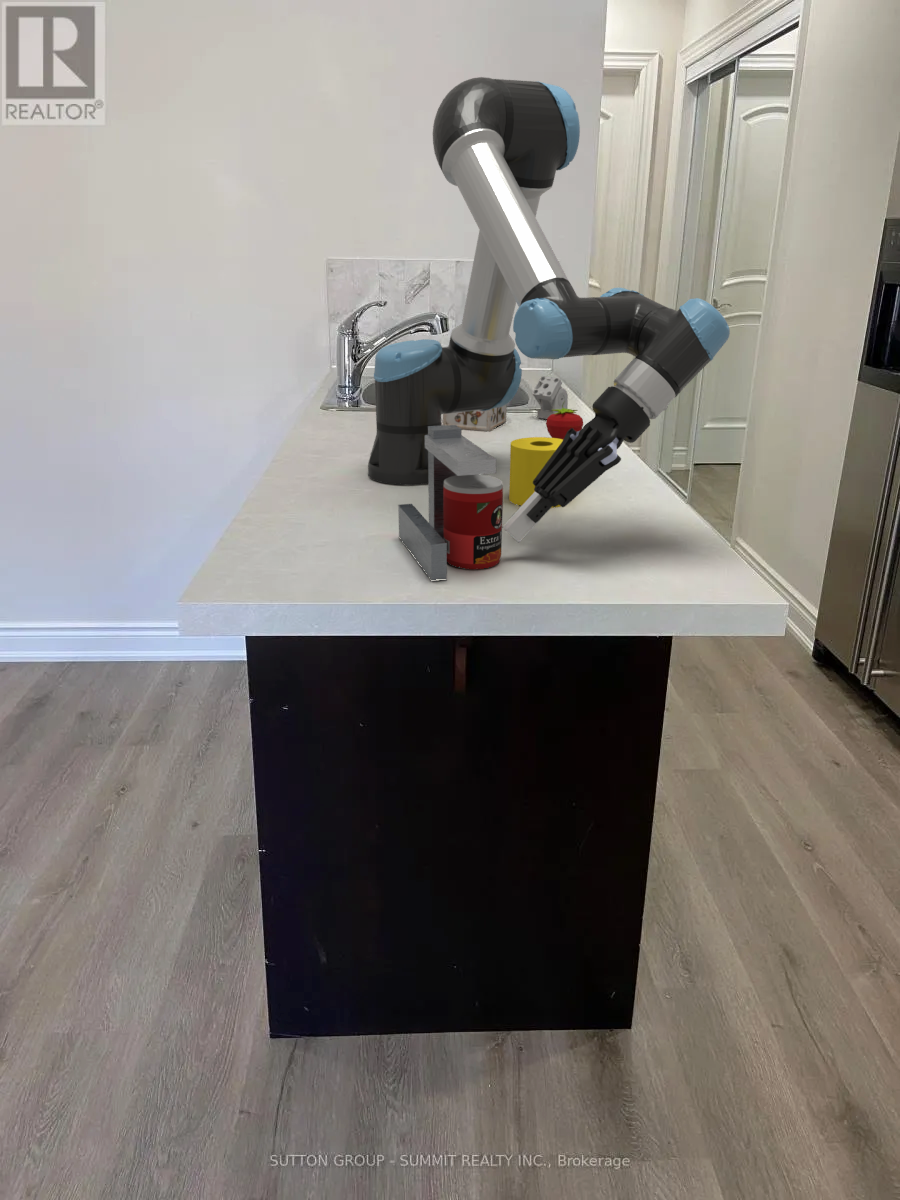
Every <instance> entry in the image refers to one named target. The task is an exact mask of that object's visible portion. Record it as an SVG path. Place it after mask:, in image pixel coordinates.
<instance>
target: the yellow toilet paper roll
mask: <svg viewBox="0 0 900 1200" xmlns="http://www.w3.org/2000/svg"><path fill="white" fill-rule="evenodd" d="M562 441H563V439H558V438H552V437H547V436H546V437H545V436H544V437H543V436H534V437H530V436H529V437H522V438H517V439H513V440H511V442H510V455H509V456H510V457H509V458H510V459H509V487H508V488H509V490H508V491H509V492H508V493H509V494H508V495H509V497H508V498H509V499H508V501H509V502H510V501H511V502H512V504H513V503H514V504H513V505H516V504H517V505H516V506H519V505H521V506H522V505H523V504H524V503H525V502H526V501H527V500H528V498H529V497H530V496H531V495H532V494H533V493H534V492H535V491H534V488H535V485H534V484H533V480H534V479H535V478H536V476H537V475H538V474H539V472H540V471H541V470H542V468H543V467H544V466H545V464H546V463H547V462H548V460H549V459H550V457H551V456H552V455H553V453H554V452H555V451H556V449H557V448H558V447H559V445H560V444H561V443H562ZM511 502H510V503H511ZM521 506H520V507H521ZM553 508H554V507H553V506H552V507H551V508H550V509H553ZM555 508H561V506H560V505H557V506H556V507H555ZM555 508H554V509H555Z"/></svg>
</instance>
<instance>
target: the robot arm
mask: <svg viewBox="0 0 900 1200" xmlns="http://www.w3.org/2000/svg"><path fill="white" fill-rule="evenodd" d="M576 107H577V106H576V103H575V101H574V99H573V97H572V96H571V95H570V94H569V92H568V91H567V90H566V89H565V88H562V87H561V86H559V85H555V84H550V83H546V82H541V81H534V80H533V81H531V80H518V79H517V80H516V79H503V78H502V79H501V78H500V79H499V78H491V77H485V76H483V77H482V76H480V77H478V76H477V77H473V78H469V79H466V80H464V81H462V82H460V83H458V84H457V85H456V86H454V87H453V88H452V89H450V90H449V92H448V93H447V94H446V95H445V97H443V98H442V101H441V103H440V105H439V106H438V109H437V110H436V114H435V117H434V121H433V126H432V127H433V128H432V145H433V150H434V151H433V152H434V155H435V156H434V157H435V159H436V161H437V164H438V167H439V168H440V170H441V173H442V175H443V176H444V178H445V180H446V181H447V182H448V183H449V184H451V185H453V186H455V187H457V188H458V190H459V192H460V194H461V196H462V198H463V199H464V201H465V203H466V206H467V208H468V209H469V211H470V214H471V216H472V217H473V219H474V221H475V223H476V226H477V227H478V229H479V230H478V236H477V241H476V247H475V251H474V255H473V256H474V257H473V262H472V266H471V267H472V268H471V272H470V277H469V284H468V288H467V292H466V293H467V294H466V299H465V305H464V308H463V309H464V310H463V313H462V319H461V324H459V325H457V326H456V327H454V328H453V329H452V330H451V333H450V338H449V343H448V346H444V347H442V345H441V343H440V341H439V340H436V339H416V340H414V339H412V340H405V341H401V342H396V343H391V344H388V345H386V346H383V347H381V348H380V349H379V350H378V351H377V353H376V354H375V356H374V357H375V358H374V371H373V372H374V373H373V379H374V394H375V418H376V421H375V422H376V423H375V424H376V432H375V433H376V435H375V439H374V442H373V445H372V448H371V452H370V455H369V459H368V462H367V463H368V464H367V473H368V474H367V475H368V477H369V479H371V480H373V481H375V482H378V483H383V484H389V485H398V486H400V485H402V486H407V485H408V486H412V485H416V486H417V485H427V484H428V485H429V481H428V450H427V449H426V448H425V435H428V426H442V415H443V414H449V413H457V412H467V411H476V410H480V411H487V410H490V409H493V408H498V407H502V406H504V405H506V404H507V405H508V404H509V403H510V402H511V401H512V400H513V399H514V397H515V396H516V394H517V393H518V390H519V388H520V385H521V381H522V375H523V374H522V373H523V369H522V368H521V365H522V360H521V357H520V355H519V352H521V353H522V355H524V356H525V357H527V358H528V359H529V358H530V359H538V360H540V359H541V360H543V359H544V360H558V359H562V358H571V357H573V358H574V357H582V356H584V357H585V356H597V355H598V356H600V355H601V356H602V355H612V354H622V353H623V354H630V355H631V356H633V357H634V358H632V360H631V361H629V363H628V364H627V365H626V367H625V368H624V369H623V370H622V371H620V373H619V374H618V375H617V377H615V378H614V380H613V385H612V386H608V387H606V389H604V391H603V392H602V393H601V395H599V396H598V398H596V400H595V401H594V402H593V404H592V411H593V413H594V415H595V416H594V417H593V418H592V419H591V420H589V421H588V422H587V423H586V424H584V425H583V427H582V429H581V430H580V431H577V432H576V431H575V430H574V429H573V428H571V429H569V430H568V431H567V433H566V435H565V437H564V439H563V441H562V443H561V444H560V445H559V447H558V448H557V449H556V451H555V452H554V453H553V455H552V456H551V457H550V459H549V460H548V462H547V463H546V464H545V466H544V467H543V468H542V470H541V471H540V472H539V474H538V475H537V476H536V478H535V479H534V480H533V484H534V485H535V488H534V491H535V492H534V493H533V494H532V495H531V496H530V497H529V498H528V500H527V501H526V502H525V503H524V504H523V505H522V506H519V508H518V509H517V510H516V511H515V512H514V514H513V515H511V517H510V518H509V519H508V520H507V521H505V522H506V523H504V524H503V525H502V530H504V531H506V533H507V534H508V535H510V537H512V538H513V539H514V541H516V542H517V543H520V542H521V541H522V540H523V539H524V538H525V536H526V535H527V534H528V533H529V532H530V531H532V529H533V528H534V527H535V526H536V525H537V524H538V522H539V521H540V520H541V519H542V518H543V517H544V516H545V515H546V514H547V513H548V512H549V511H550V509H552V508H551V507H552V506H553V507H555V508H557V507H556V506H557V505H560V508H564V507H567V505H568V504H570V503H571V502H572V501H573V500H575V498H577V497H578V496H579V495H580V494H581V493H583V491H585V489H587V488H588V487H589V486H591V484H593V483H594V482H595V481H596V480H598V479H599V478H600V477H601V476H602V475H603V474H605V472H607V471H608V470H611V469H612V468H613V467H615V466H617V465H618V464H619V463H620V462H621V461H622V458H621V456H619V454H618V453H617V451H618V449H619V448H620V447H621V446H622V444H623V442H624V441H625V442H626V443H630V444H633V443H635V442H636V441H637V440H638V439H639V438H640V437H641V436H642V435H643V433H645V431H646V430H647V429H648V428H649V427H651V420H656V419H657V418H658V417H659V415H661V413H662V412H664V411H666V410H667V409H668V408H669V407H668V406H669V405H670V404H671V402H672V401H673V400H674V399H676V398H677V397H678V395H679V394H680V393H681V392H682V391H683V389H685V387H686V386H687V385H688V384H689V383H691V381H692V380H693V379H694V378H695V377H696V376H697V375H699V373H700V372H701V371H702V370H703V369H704V368H705V367H706V366H707V365H708V364H709V363H710V362H712V360H714V358H715V356H716V355H717V353H718V352H720V350H721V349H722V347H723V346H724V345H725V344H726V342H728V339H729V338H730V334H731V333H730V332H731V331H730V327H729V324H728V322H727V320H726V318H725V317H724V316H723V314H722V313H721V312H720V311H719V310H718V309H717V308H716V307H715V306H714V305H712V304H711V303H709V302H708V301H706V300H704V299H702V298H699V297H696V298H689V299H688V300H687V301H686V302H684V303H683V304H682V305H680V306H679V308H678V310H676V309H673V308H671V307H667V306H665V305H663V304H661V303H659V302H657V301H655V300H653V299H650V298H649V297H646V296H645V294H643V293H639V291H635V290H633V289H632V290H630V289H627V288H624V287H613V288H611V289H609V290H608V291H606V292H605V293H603V294H601V295H600V296H599V297H598V296H597V297H595V296H594V297H593V296H592V297H591V296H590V297H579V296H578V295H577V292H576V291H575V289H574V287H573V285H572V284H571V282H570V281H569V279H568V276H567V275H566V273H565V271H564V269H563V267H562V266H561V264H560V262H559V260H558V258H557V256H556V254H555V252H554V250H553V248H552V247H551V245H550V243H549V241H548V239H547V237H546V235H545V233H544V230H543V229H542V227H541V226H540V224H539V222H538V219H537V218H536V217H537V211H538V208H539V204H540V199H541V196H542V195H543V194H544V193H546V192H548V191H549V190H551V189H552V188H553V185H554V182H555V181H554V180H555V177H556V173H557V172H556V171H562V170H563V169H564V168H567V167H568V166H569V165H570V162H573V160H574V159H575V157H576V155H577V152H578V148H579V143H580V133H581V125H580V116H579V113H578V111H577V108H576ZM516 304H517V306H518V309H517V310H516V312H515V308H516ZM514 313H515V314H514ZM512 322H513V325H512ZM511 327H512V330H513V333H515V337H514V340H513V338H512V337H511V335H510V331H511ZM516 346H517V349H516V348H515V347H516ZM517 350H519V352H518V351H517Z"/></svg>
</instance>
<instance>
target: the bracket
mask: <svg viewBox="0 0 900 1200" xmlns="http://www.w3.org/2000/svg"><path fill="white" fill-rule="evenodd" d="M462 431H463V429H461V428H459V427H458V426H457V425H443V424H441V426H428V435H425V448H426V449H427V450H428V481H429V483H428V520H427V519H426V518H425V517H424V516H423V514H422V513H420V511H419V510H418V508H416V506H415V505H414V504H413V503H404V504H403V503H402V504H398V505H397V507H398V538H399V537H400V538H401V540H402V541H403V543H404V544H405V545H406V546H407V548H408V549H409V550H410V551H411V553H412V554H413V555H414V557H415V558H416V560H417V561H418V562H419V564H420V565H421V566H422V568H423V569H424V570H425V572H426V573H427V575H428V576H429V577H430V579H431V580H436V579H447V576H448V575H447V573H448V571H447V570H448V569H447V567H448V563H447V543H446V542H445V541H444V518H443V485H444V480H445V479H446V478H449V477H451V476H456V475H457V476H462V475H476V474H479V475H489V474H496V473H497V459H496V457H494V456H492V455H491V454H489V453H488V452H486V451H485V450H484V449H482V448H481V447H480V446H478V445H477V444H475V443H473V442H472V441H471V440H469V438H466V437H465V436H463V434H462ZM401 540H400V541H401ZM402 541H401V542H402ZM403 543H402V544H403ZM404 544H403V545H404ZM405 545H404V546H405ZM407 548H406V549H407ZM408 549H407V550H408ZM411 553H410V554H411ZM414 557H413V558H414ZM416 560H415V561H416ZM419 564H418V565H419ZM422 568H421V569H422ZM425 572H424V573H425ZM427 575H426V576H427ZM428 576H427V577H428ZM430 579H429V580H430ZM431 580H430V581H431Z"/></svg>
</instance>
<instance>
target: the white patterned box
mask: <svg viewBox="0 0 900 1200" xmlns="http://www.w3.org/2000/svg"><path fill="white" fill-rule="evenodd" d="M507 405H508V404H506V405H504V406H502V407H498V408H493V409H490V410H487V411H480V410H476V411H467V412H457V413H449V414H442V425H457V426H458V427H459V428H461V429H462V430H463V429H465V430H464V431H477V432H487V431H489V432H491V431H492V429H493V430H494V429H496V428H498V427H500V426H501V425H504V424H505V423H507V409H508V408H507ZM503 423H504V424H503ZM499 425H500V426H499ZM497 426H498V427H497ZM495 427H496V428H495Z"/></svg>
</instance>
